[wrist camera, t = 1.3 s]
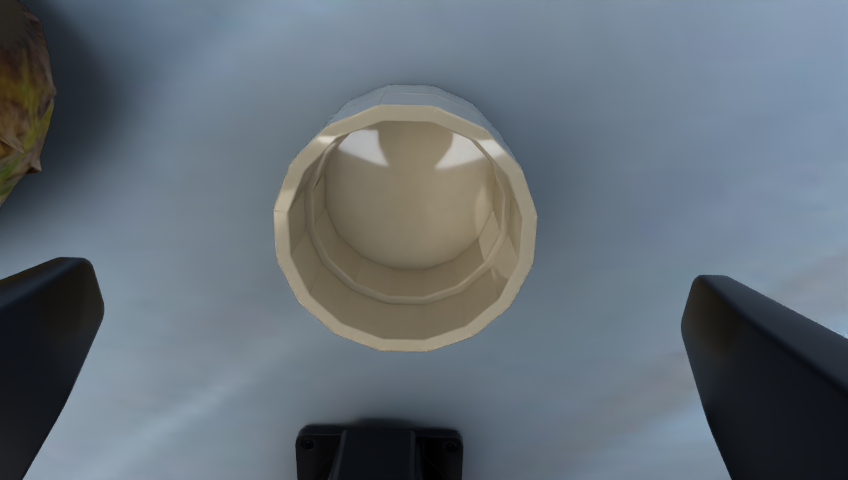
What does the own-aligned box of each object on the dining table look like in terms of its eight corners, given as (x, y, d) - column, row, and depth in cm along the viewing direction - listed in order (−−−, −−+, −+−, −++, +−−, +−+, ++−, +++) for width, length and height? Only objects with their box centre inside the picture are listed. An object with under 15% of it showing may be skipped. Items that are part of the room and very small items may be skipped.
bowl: (503, 280, 22) (525, 355, 17) (312, 276, 22) (281, 348, 17) (518, 85, 19) (548, 108, 15) (304, 80, 19) (264, 101, 14)
